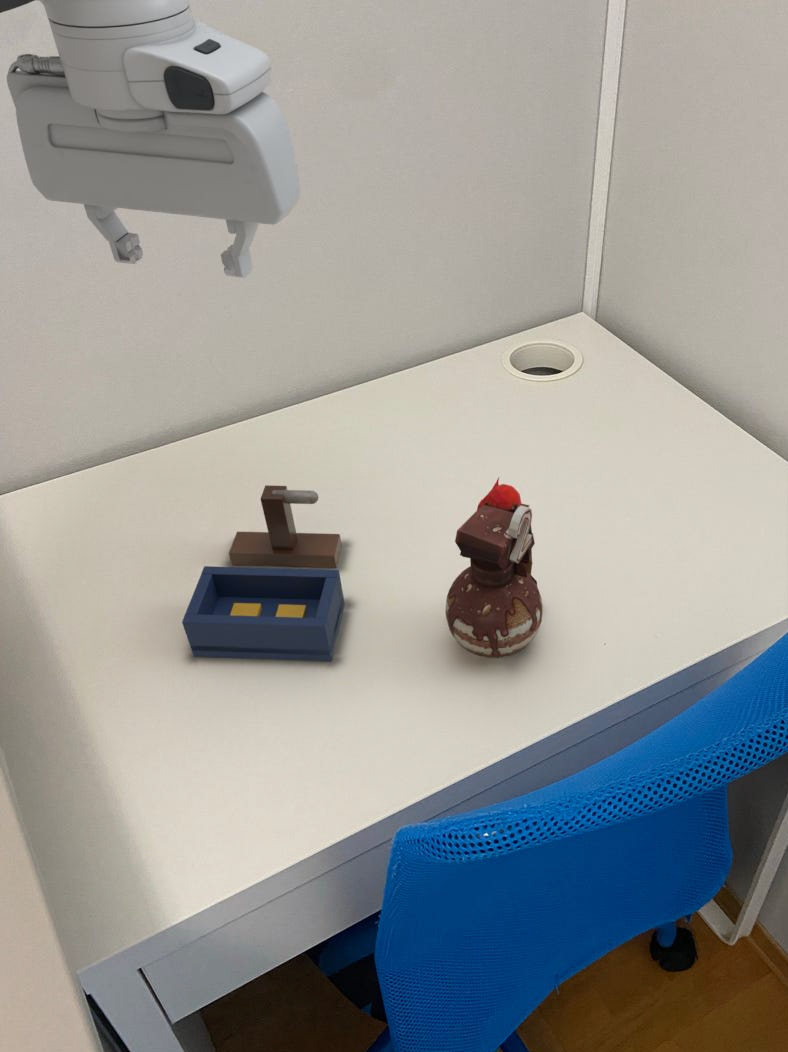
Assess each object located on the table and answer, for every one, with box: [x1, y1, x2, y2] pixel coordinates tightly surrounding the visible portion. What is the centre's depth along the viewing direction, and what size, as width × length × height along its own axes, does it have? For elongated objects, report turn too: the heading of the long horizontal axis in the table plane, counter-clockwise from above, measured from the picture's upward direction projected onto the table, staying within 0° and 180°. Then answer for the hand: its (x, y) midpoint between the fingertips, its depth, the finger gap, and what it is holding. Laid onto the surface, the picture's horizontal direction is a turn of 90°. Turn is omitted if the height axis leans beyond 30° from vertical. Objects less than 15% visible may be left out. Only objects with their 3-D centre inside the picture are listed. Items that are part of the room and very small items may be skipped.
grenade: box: [445, 477, 544, 659], centre depth 76 cm, size 9×8×15 cm
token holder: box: [181, 565, 346, 662], centre depth 81 cm, size 12×7×4 cm, turn 86°
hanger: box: [228, 484, 342, 569], centre depth 87 cm, size 10×3×8 cm, turn 86°
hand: (184, 267), depth 72 cm, fingers open, 8 cm apart
